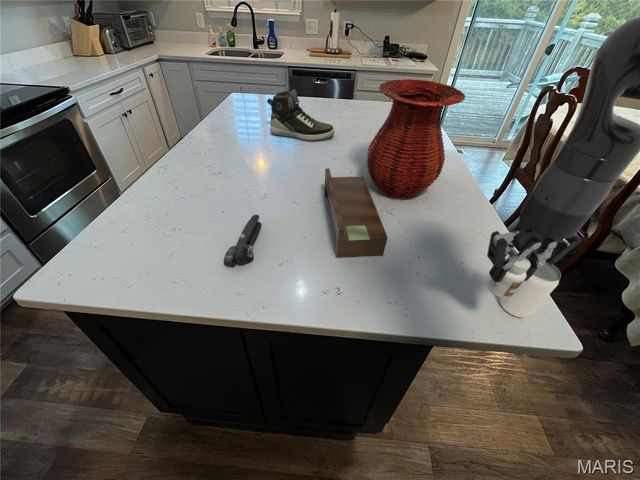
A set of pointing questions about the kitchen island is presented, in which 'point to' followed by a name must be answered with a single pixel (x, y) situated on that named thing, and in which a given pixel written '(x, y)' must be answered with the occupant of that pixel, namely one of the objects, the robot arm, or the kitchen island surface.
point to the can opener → (244, 244)
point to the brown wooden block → (354, 217)
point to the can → (532, 291)
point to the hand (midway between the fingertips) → (507, 277)
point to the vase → (410, 137)
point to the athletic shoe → (295, 119)
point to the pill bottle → (510, 279)
